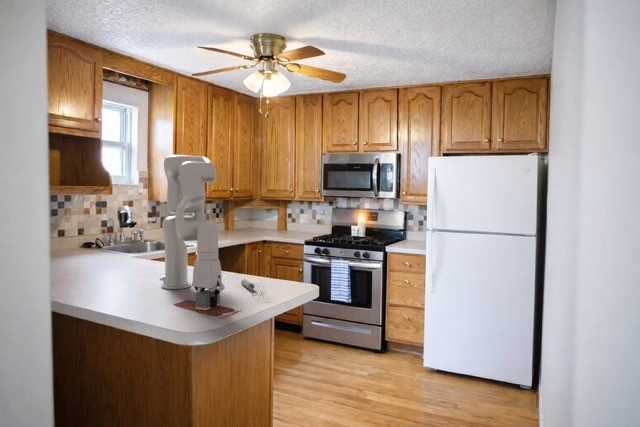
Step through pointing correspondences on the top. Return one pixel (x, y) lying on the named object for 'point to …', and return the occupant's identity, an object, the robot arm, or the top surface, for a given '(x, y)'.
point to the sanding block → (204, 300)
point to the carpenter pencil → (230, 314)
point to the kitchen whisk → (250, 286)
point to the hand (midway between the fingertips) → (207, 305)
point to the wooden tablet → (212, 311)
